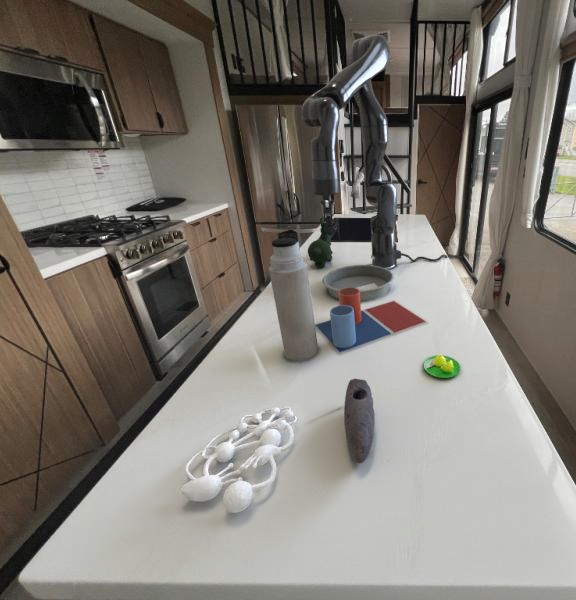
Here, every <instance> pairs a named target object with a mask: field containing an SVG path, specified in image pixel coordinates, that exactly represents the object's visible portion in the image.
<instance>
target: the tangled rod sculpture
mask: <svg viewBox="0 0 576 600" xmlns="http://www.w3.org/2000/svg"><path fill="white" fill-rule="evenodd" d="M284 410H285V412H284V413H283V416H281V417H280V418H279V416H280V415H281V412H282V411H284ZM267 412H270V416H269V418H268V419H267V420H265V419H264V420H262V419H263V416H262V415H264V414H265V413H267ZM246 418H251V420H252V422H253V423H254V424H248V423H246V422H244V420H245V419H246ZM275 418H277V419H275ZM274 419H275V420H274ZM292 419H294V420H293V421H291V420H292ZM287 421H289V422H287ZM297 422H298V418H297V416H296V415H295V414H294V412H293V410H292V408H291V406H284V407H281V408H279V407H273V408H266V409H264V410H262V411H260V412H257V413H254V414H245V415H243V416H242V417H241V418H240V419H239V424H238V425H237V426H234V427H231V428H228V429H227V430H225V431H222V432H221V433H218V434H217V435H215V436H214V437H212V438H211V439H210V440H209V441H208V443H207V444H206V445H205V447H204V448H202V449H201V450H200V451H198V452H197V453H195V454H194V455H193V456H192V457H191V458H190V459H189V460H188V461H187V462H186V464H185V466H184V473H185V475H186V477H187V478H189V480H190V481H188V482H185V484H183V485H182V486H181V489H180V494H181V496H183V497H184V498H186V499H188V500H189V501H193V502H208V501H211V500H213V499H214V498H215V497H217V496H218V495H219V493H220V492H221V490H222V486H224V485H227V484H230V483H231V484H230V485H229V486H228V487H227V488H226V489H225V491H224V493H223V497H222V502H223V506H224V508H225V510H226V511H229V512H230V513H231V514H232V513H234V514H235V513H237V514H238V513H240V512H243V511H244V510H246V509H247V508H248V507H249V506H250V504H251V503H252V501H253V498H254V491H257V490H260V489H264V488H266V487H268V486H270V485H271V484H272V483H273V482H274V480H275V479H276V476H277V462H276V459H274V458H275V457H277V456H279V455H280V454H281V453H282V452H284V451H286V450H288V449H289V448H290V447H291V446H292V445H293V442H294V439H295V436H294V435H295V434H294V430H293V427H292V426H291V425H294V424H296V423H297ZM258 423H259V424H258ZM275 427H276V429H275ZM248 429H251V430H252V429H253V430H252V431H251V432H250V433H249V432H248ZM284 430H287V432H288V436H289V437H288V441H287V442H286V444H284V445H283V446H280V447H279V445H280V444H281V442H282V436H281V433H280V431H284ZM246 432H248V434H245V436H243V437H241V438H240V434H244V433H246ZM227 434H228V436H227V437H228V441H224V442H221V443H219V444H218V445H213V442H214V441H216V440H217V439H219V438H221V437H223V436H224V435H227ZM253 436H259V439H256V440H253V441H250V442H247V443H243V442H245V441H246V440H248V439H250V438H252V437H253ZM232 442H233V443H232ZM241 443H243V444H241ZM256 445H260V446H259V447H256V448H255V450H254V452H253V454H252V455H250V456H249V457H248V458H247V459H246V460H245V461H244V463H243V464H240V465H239V467H238V468H237V469H236V470H235V471H231V472H227V471H228V470H229V469H232V468H233V467H234V463H233V462H229V461H230V460H231V459H233V457H234V455H235V453H236V451H239V450H242V449H246V448H250V447H252V446H256ZM212 449H213V450H214V453H212V454H209V455H206V452H207V451H209V450H212ZM200 455H201V458H202V459H203V460H205V463H203V468H202V476H201V477H199V478H196V477H194V476H193V475H192V473H191V472H190V471H189V467H190V465H191V463H192V462H193V461H195V459H197V458H198V457H199V456H200ZM214 460H216V461H217V462H218V463H227V462H229V463H228V464H227V466H226V467H225V468H224V469H222V470H220V472H219V473H218V472H217V473H216V474H210V473H209V467H210V465H211V463H212V462H213V461H214ZM253 462H254V463H253ZM268 462H269V464H270V467H271V473H270V476H269V478H267V480H264V481H262V482H258V483H256V484H250V482H248V481H246V480H243V477H242V476H240V475H241V474H242V470H245V471H246V470H248V468H249V466H250V465H251V464H252V463H253V464H252V466H251V467H252V468H253V469H256V468H258V466H264V465H265V464H267V463H268ZM226 472H227V473H226ZM224 473H226V474H224ZM223 474H224V475H223ZM221 475H222V476H221ZM233 475H237V476H238V475H239V477H238V478H231V479H227V480H224V479H226V478H227V477H228V478H229V477H230V476H233ZM223 480H224V481H223Z"/></svg>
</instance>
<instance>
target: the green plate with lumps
mask: <svg viewBox="0 0 576 600" xmlns="http://www.w3.org/2000/svg"><path fill="white" fill-rule="evenodd" d="M432 360H433V365H431V366H429V367H427V364H428V362H429V361H432ZM423 368H424V370H425V371H426V372H427V373H428V374H430V375H431V376H433V377H436V378H443V379H445V378H452V377H455V376H456V375H457V374H459V372H460V370H461V365H460V363H459V362H458V361H457V360H456V359H454V358H453V357H451V356H447V355H442V354H438V355H433V356H429V357H427V358H426V359H425V360H424V362H423Z"/></svg>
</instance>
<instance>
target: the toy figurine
mask: <svg viewBox="0 0 576 600" xmlns="http://www.w3.org/2000/svg"><path fill="white" fill-rule="evenodd" d="M319 223H320V237H319V238H320V239H316V240H314V241H311V243H310V244H309V246H308V248H307V255H308V257H309V260H310V261H312V262H313V263H314V267H316V268H318V269H322V268H323V269H324V268H325V267H326V262H327V263H330V262H332V260H333V255H332V254H334V253H333V250H332V247H331V246H332V242H331V240H330V239H331V238H332V235H326V231H325V223H324V216H322V217H320V218H319Z"/></svg>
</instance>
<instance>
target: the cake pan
mask: <svg viewBox="0 0 576 600" xmlns="http://www.w3.org/2000/svg"><path fill="white" fill-rule="evenodd" d="M322 277H323V278H322V284H323V285H324V287H326V288H327V291H328V293H329V295H330V296H332V297H333V298H336V299H338V300H339V291H340V290H341V289H344V288H350V287H352V288H357V289H358V288H360V287H364V286H368V285H372V284H374V285H376V287H372V288H367V289H361V290H360V289H359V290H360V302H361V301H370V300H374V299H377V298H380V297H382V296H384V295H385V294H387V293H388V292H389V290H390V288H391V283H392V282H393V281H394V279H395V275H394V273H393V272H392V271H391V269H389V270H388V269H386V268H383V267H379V266H373V265H372V264H355V265H353V264H352V265H347V266H342V267H339V268H336V269H333V270H331V271H329V272H327V273H326V274H325V275H323V276H322Z"/></svg>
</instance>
